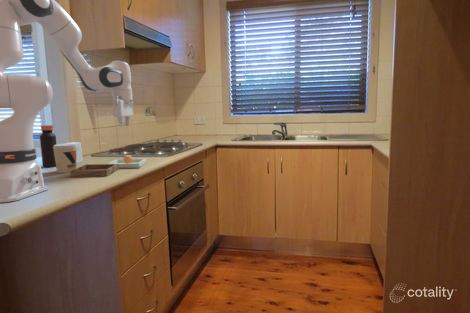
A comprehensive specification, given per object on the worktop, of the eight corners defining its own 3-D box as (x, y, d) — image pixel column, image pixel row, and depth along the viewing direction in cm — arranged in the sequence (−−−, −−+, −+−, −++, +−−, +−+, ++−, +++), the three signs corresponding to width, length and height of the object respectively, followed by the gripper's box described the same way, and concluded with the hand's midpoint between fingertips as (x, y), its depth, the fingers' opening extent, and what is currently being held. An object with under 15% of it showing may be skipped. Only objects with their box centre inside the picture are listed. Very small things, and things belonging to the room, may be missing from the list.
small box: (74, 161, 176) (72, 142, 175) (83, 162, 175) (81, 142, 173) (62, 164, 168) (61, 143, 167) (72, 164, 167) (70, 143, 165)
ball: (130, 161, 159) (132, 153, 161) (121, 161, 159) (123, 153, 161) (132, 165, 163) (134, 158, 165) (123, 165, 163) (125, 157, 165)
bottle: (40, 166, 162) (36, 125, 159) (54, 164, 167) (50, 125, 164) (46, 168, 158) (42, 126, 155) (61, 166, 163) (57, 125, 160)
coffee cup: (69, 173, 144) (66, 146, 142) (50, 172, 146) (47, 145, 144) (82, 169, 153) (80, 143, 151) (65, 169, 155) (62, 143, 153)
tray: (139, 168, 154) (139, 163, 154) (106, 168, 153) (106, 164, 153) (146, 162, 169) (146, 158, 169) (116, 163, 168) (116, 159, 168)
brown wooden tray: (107, 176, 137) (106, 170, 136) (70, 177, 136) (70, 171, 135) (118, 169, 152) (118, 163, 152) (85, 170, 151) (85, 164, 151)
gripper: (122, 95, 146) (124, 127, 148) (134, 97, 166) (136, 125, 168) (108, 95, 146) (110, 127, 147) (122, 97, 166) (124, 125, 168)
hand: (124, 126), depth 158 cm, fingers open, 8 cm apart
